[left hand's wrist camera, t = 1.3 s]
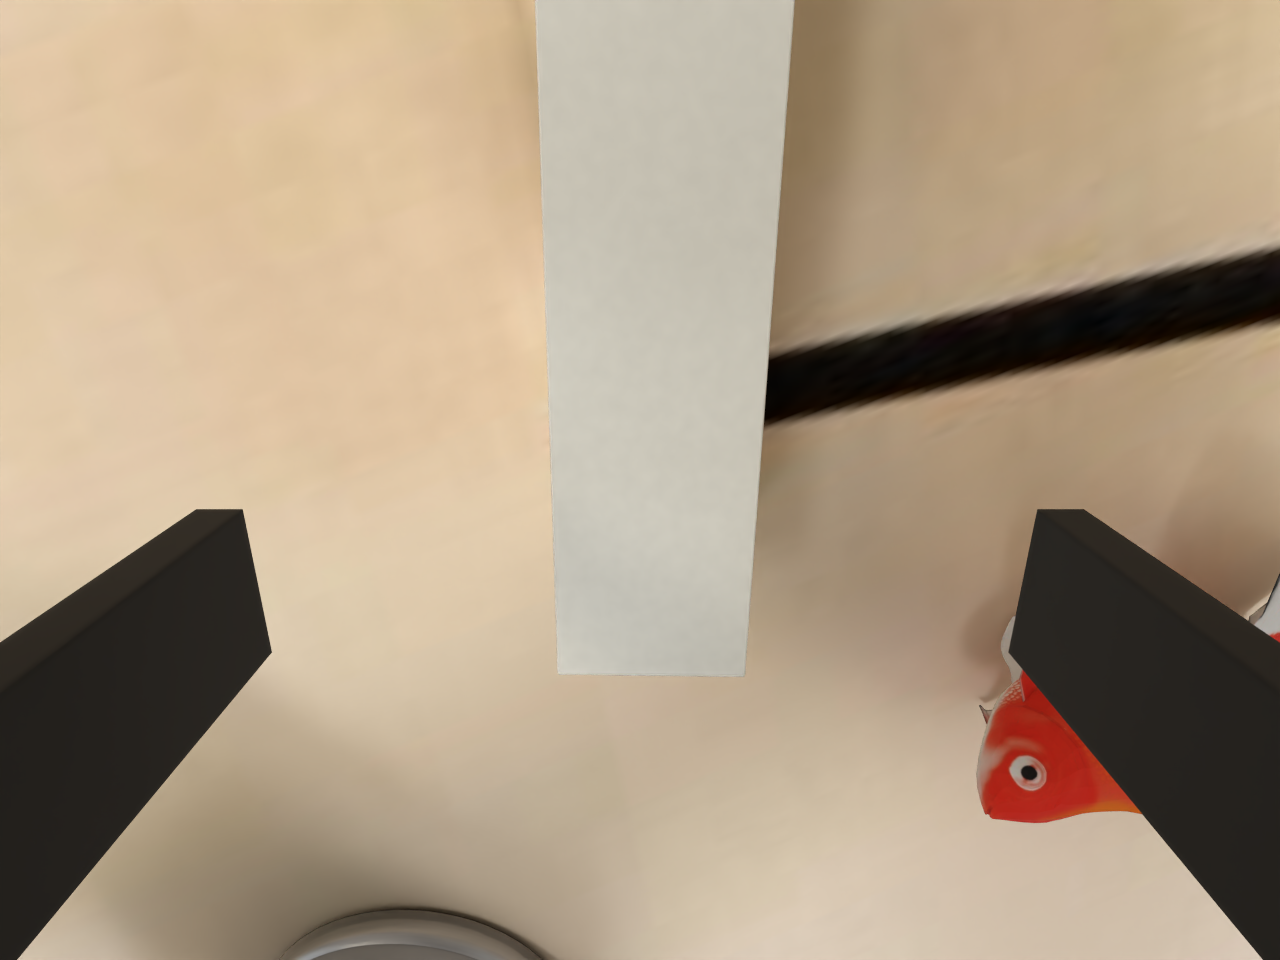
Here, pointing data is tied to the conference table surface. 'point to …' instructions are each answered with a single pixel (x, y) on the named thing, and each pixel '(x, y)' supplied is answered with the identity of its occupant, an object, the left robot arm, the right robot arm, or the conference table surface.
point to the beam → (658, 319)
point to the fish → (1053, 750)
